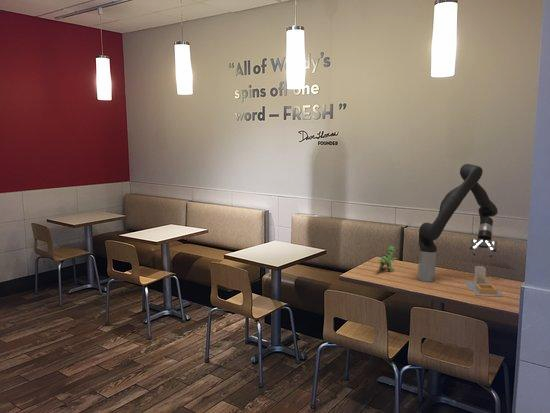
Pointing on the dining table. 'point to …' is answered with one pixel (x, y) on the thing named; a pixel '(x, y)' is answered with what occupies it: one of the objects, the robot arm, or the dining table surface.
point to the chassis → (483, 289)
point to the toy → (387, 260)
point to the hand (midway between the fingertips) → (482, 255)
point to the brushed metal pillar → (479, 275)
